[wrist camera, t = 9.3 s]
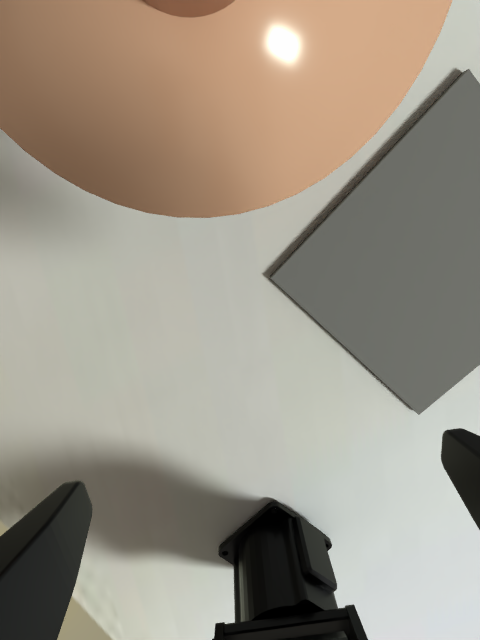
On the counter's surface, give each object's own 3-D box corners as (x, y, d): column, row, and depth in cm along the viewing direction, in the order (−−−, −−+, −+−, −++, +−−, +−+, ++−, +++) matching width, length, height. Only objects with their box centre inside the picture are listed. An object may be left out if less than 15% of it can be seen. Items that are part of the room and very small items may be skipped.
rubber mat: (415, 411, 24) (418, 414, 23) (269, 277, 20) (270, 278, 20) (598, 259, 21) (605, 260, 20) (463, 72, 17) (468, 69, 17)
